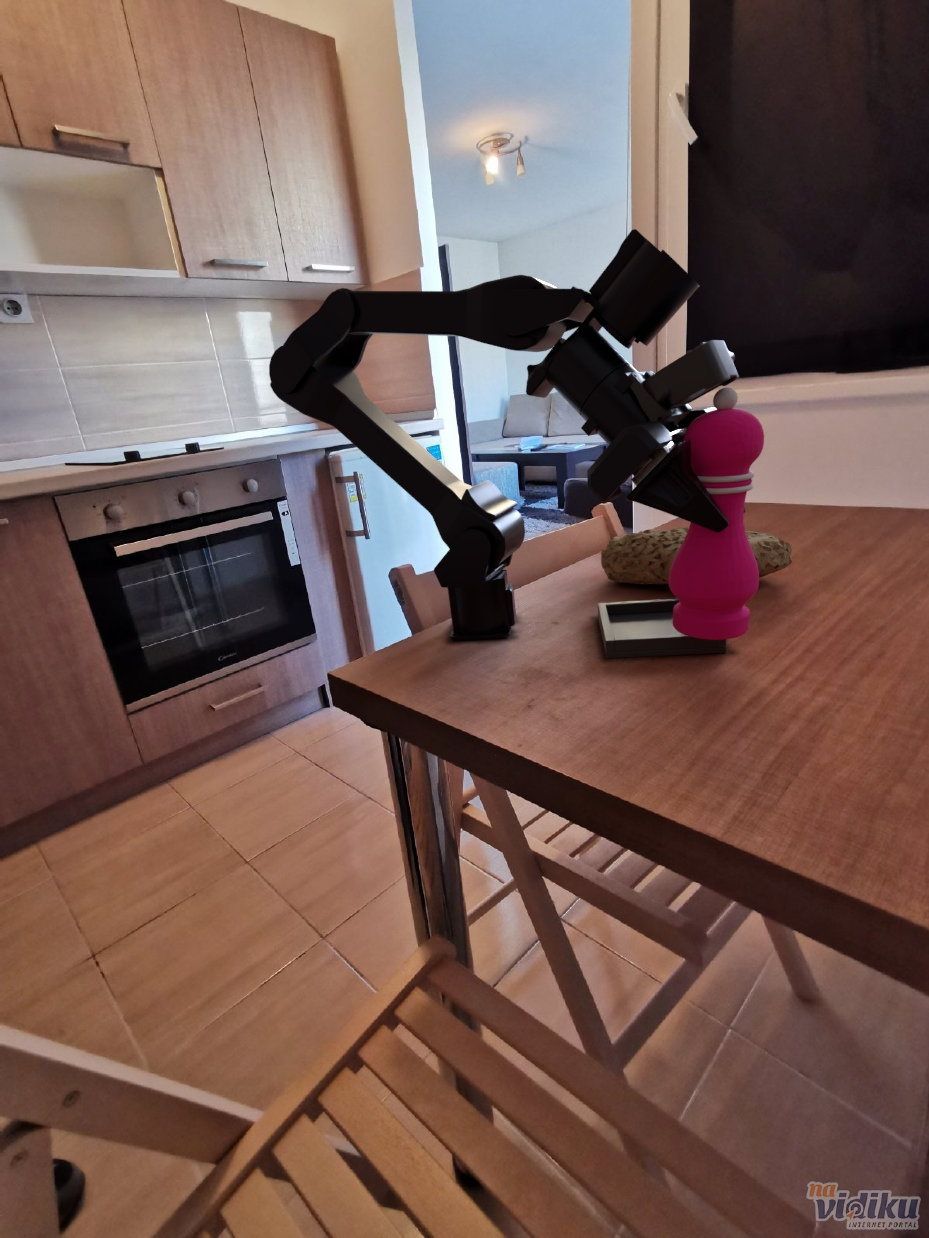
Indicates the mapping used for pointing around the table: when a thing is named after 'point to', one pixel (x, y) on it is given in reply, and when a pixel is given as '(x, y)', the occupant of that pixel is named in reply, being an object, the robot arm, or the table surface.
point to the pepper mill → (723, 562)
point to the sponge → (656, 550)
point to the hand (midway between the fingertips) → (733, 522)
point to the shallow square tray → (648, 631)
